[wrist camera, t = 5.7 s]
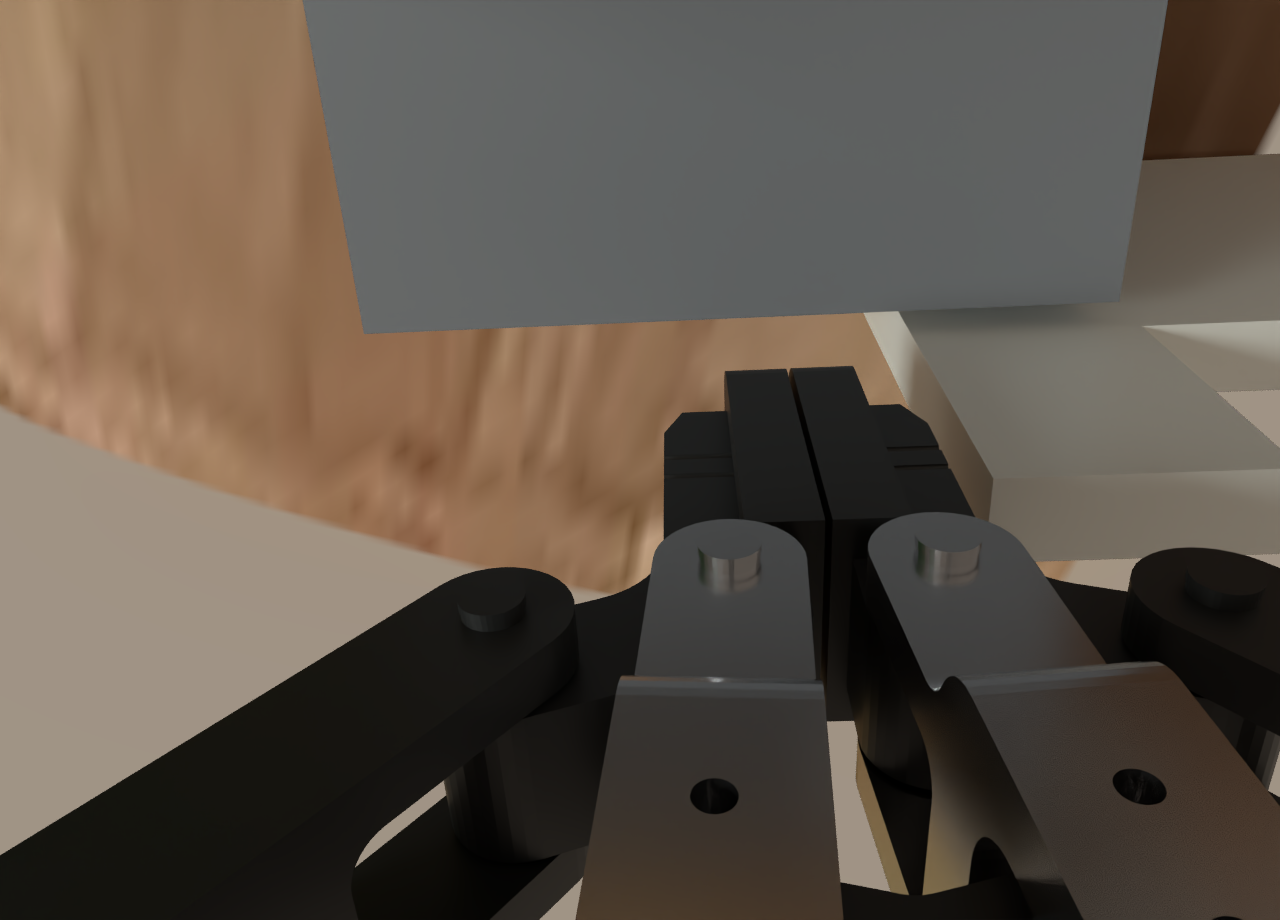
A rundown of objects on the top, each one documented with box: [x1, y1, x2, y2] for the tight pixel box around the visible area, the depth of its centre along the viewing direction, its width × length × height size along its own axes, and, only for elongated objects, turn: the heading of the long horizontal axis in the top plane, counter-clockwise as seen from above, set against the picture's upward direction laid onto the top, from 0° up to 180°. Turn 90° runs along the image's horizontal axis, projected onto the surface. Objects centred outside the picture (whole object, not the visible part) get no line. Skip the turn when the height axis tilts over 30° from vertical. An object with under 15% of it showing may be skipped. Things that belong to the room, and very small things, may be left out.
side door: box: [864, 154, 1280, 562], centre depth 17 cm, size 1×10×14 cm, turn 93°
